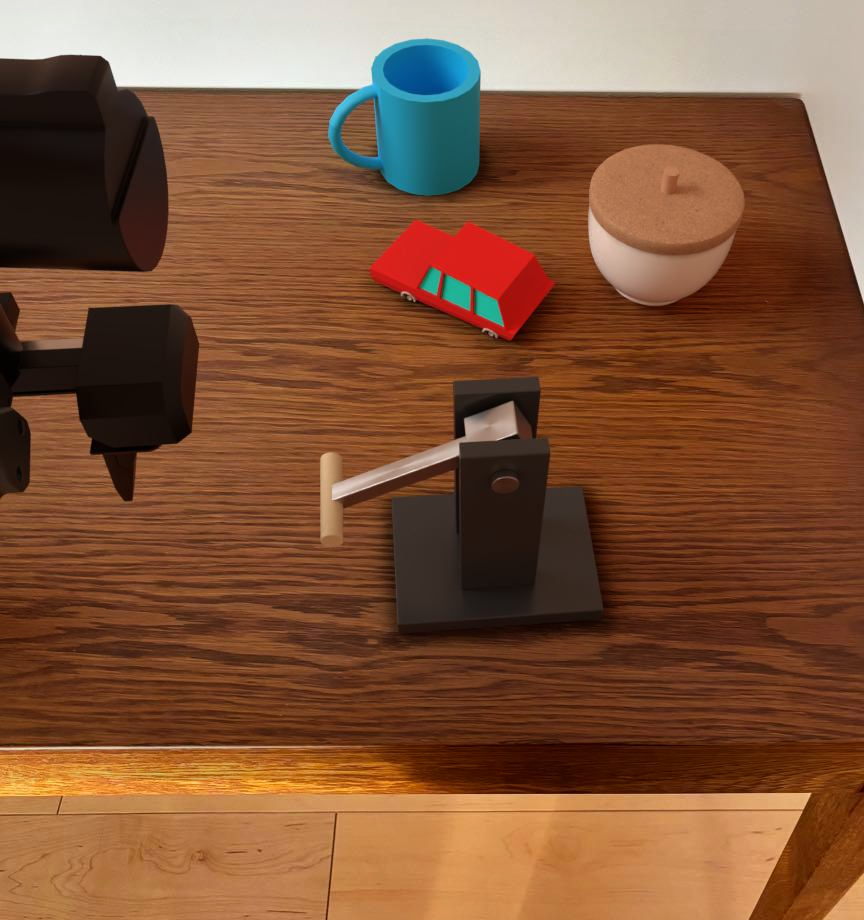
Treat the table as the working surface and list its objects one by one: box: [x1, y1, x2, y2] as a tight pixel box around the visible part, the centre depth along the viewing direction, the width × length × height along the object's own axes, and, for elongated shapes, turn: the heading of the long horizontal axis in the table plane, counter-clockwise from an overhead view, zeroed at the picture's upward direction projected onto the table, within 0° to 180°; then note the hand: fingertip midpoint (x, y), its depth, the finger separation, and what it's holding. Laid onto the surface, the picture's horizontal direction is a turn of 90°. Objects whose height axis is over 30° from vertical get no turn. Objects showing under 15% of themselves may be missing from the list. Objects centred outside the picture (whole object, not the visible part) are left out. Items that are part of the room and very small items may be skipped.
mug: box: [327, 38, 482, 197], centre depth 79 cm, size 12×8×8 cm
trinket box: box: [587, 143, 746, 307], centre depth 72 cm, size 11×11×9 cm
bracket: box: [390, 376, 604, 635], centre depth 56 cm, size 12×9×14 cm
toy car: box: [369, 219, 556, 342], centre depth 73 cm, size 6×12×4 cm, turn 60°
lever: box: [319, 401, 533, 548], centre depth 53 cm, size 12×6×2 cm, turn 96°
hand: (31, 500), depth 49 cm, fingers open, 9 cm apart
